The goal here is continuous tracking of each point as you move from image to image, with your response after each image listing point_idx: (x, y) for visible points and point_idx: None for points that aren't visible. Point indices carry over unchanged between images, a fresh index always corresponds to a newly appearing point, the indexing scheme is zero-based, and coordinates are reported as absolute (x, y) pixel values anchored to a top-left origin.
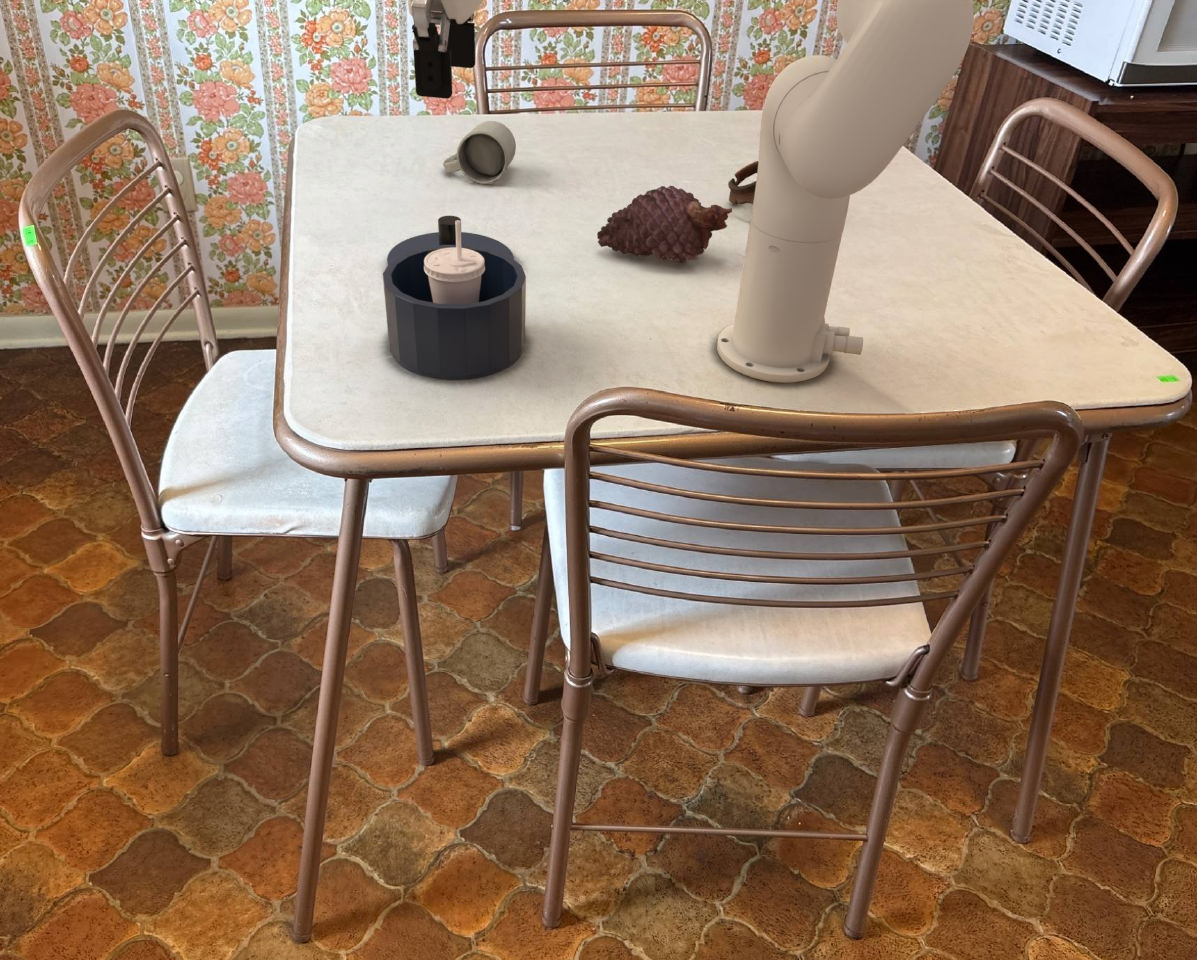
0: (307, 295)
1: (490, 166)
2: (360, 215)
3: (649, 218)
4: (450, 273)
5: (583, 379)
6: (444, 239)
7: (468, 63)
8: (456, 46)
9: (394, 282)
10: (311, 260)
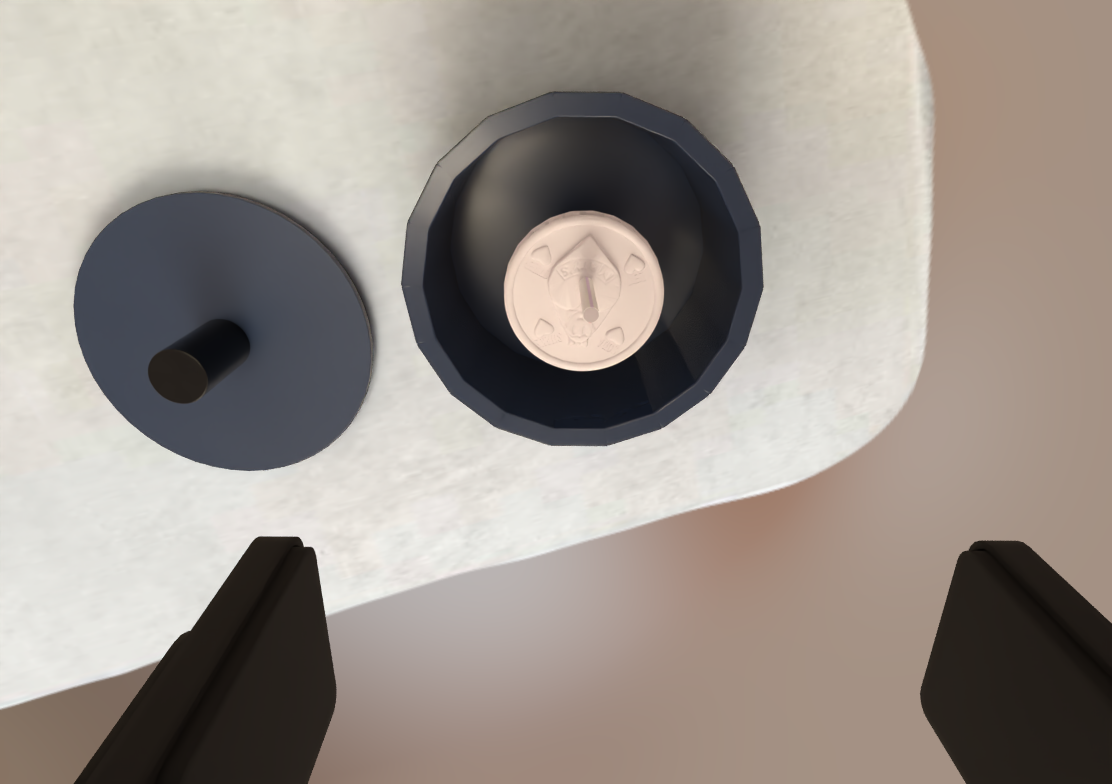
0: (450, 556)
1: None
2: (82, 565)
3: None
4: (662, 289)
5: None
6: (226, 370)
7: (309, 579)
8: (279, 733)
9: (585, 415)
10: None
